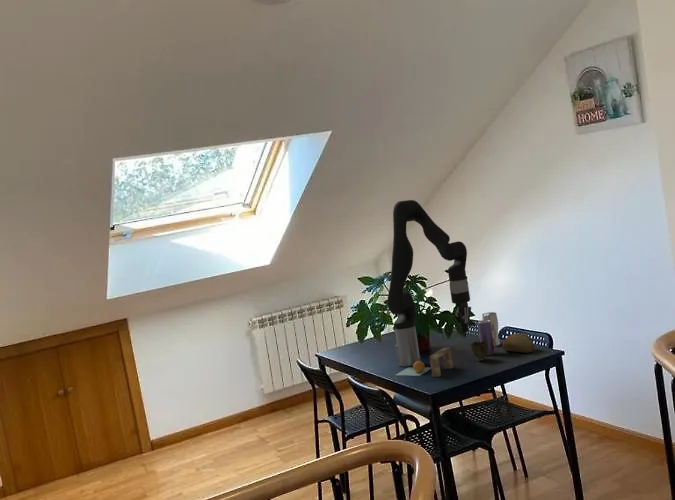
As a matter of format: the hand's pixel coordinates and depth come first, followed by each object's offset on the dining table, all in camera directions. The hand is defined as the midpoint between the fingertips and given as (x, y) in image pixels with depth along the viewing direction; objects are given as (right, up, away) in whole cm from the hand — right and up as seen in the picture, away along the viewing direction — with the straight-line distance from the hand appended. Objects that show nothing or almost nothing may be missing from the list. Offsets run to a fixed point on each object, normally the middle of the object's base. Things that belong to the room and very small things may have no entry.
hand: (465, 331), depth 300 cm
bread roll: (+28, -12, +23) cm, 38 cm away
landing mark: (-20, -19, +16) cm, 32 cm away
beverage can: (+15, -13, +27) cm, 34 cm away
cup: (+10, -15, +18) cm, 25 cm away
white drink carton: (+21, -11, +43) cm, 49 cm away
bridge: (-8, -18, +8) cm, 21 cm away
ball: (-18, -16, +14) cm, 28 cm away
